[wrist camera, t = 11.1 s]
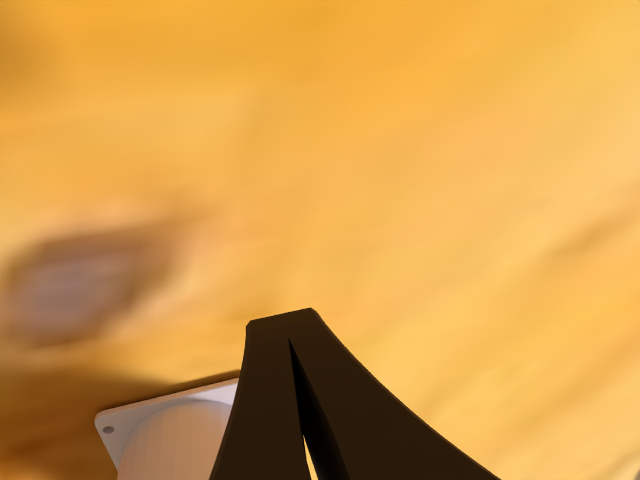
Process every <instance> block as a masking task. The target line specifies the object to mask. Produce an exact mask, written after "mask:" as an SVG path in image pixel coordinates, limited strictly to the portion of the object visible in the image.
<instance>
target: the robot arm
mask: <svg viewBox="0 0 640 480" xmlns="http://www.w3.org/2000/svg"><path fill="white" fill-rule="evenodd" d="M94 425H95V427H96V429H97V431H98V433H99V435H100V437H101V439H102V441H103V443H104V445H105V447H106V449H107V451H108V453H109V455H110V457H111V459H112V461H113V463H114V465H115V467H116V469H117V471H118V476H117V480H311V476H310V472H309V468H308V464H307V459H306V452H305V445H304V438H305V441H306V444H307V447H308V450H309V453H310V456H311V459H312V462H313V465H314V468H315V471H316V474H317V477H318V480H501V479H499V478H498V477H497V476H495V475H494V474H492V473H491V472H490V471H488V470H487V469H486V468H484V467H483V466H481V465H480V464H479V463H477V462H476V461H474V460H473V459H472V458H470V457H469V456H468V455H466V454H465V453H463V452H462V451H461V450H460V449H458V448H457V447H456V446H454V445H453V444H452V443H450V442H449V441H448V440H447V439H445V438H444V437H443V436H441V435H440V434H439V433H438V432H436V431H435V430H434V429H433V428H431V427H430V426H429V425H428V424H426V423H425V422H424V421H423V420H422V419H421V418H419V417H418V416H417V415H416V414H415V413H413V412H412V411H411V410H410V409H409V408H408V407H407V406H405V405H404V404H403V403H402V402H401V401H400V400H399V399H398V398H396V397H395V396H394V395H393V394H392V393H391V392H390V391H389V390H388V389H387V388H386V387H385V386H383V385H382V384H381V383H380V382H379V381H378V380H377V379H376V378H375V377H374V376H373V375H372V374H371V373H370V372H369V371H368V370H367V369H366V368H365V367H364V366H363V365H362V364H361V363H360V362H359V361H358V360H357V359H356V358H355V357H354V356H353V355H352V354H351V352H350V351H349V350H348V349H347V348H346V347H345V346H344V345H343V344H342V343H341V341H340V340H339V339H338V338H337V337H336V336H335V335H334V333H333V332H332V331H331V330H330V329H329V327H328V326H327V325H326V324H325V322H324V321H323V320H322V319H321V317H320V316H319V314H318V313H317V312H316V311H315V310H314V309H312V308H306V309H301V310H297V311H292V312H288V313H283V314H278V315H274V316H269V317H265V318H260V319H255V320H251V321H250V322H249V323H248V324H247V326H246V340H245V349H244V356H243V362H242V367H241V372H240V377H239V378H235V379H231V380H227V381H223V382H219V383H215V384H211V385H207V386H203V387H198V388H194V389H190V390H186V391H182V392H178V393H174V394H170V395H166V396H161V397H157V398H153V399H149V400H145V401H141V402H137V403H133V404H128V405H124V406H120V407H116V408H112V409H108V410H104V411H101V412H99V413H98V414H97V415H96V417H95V421H94ZM107 426H111V427H107ZM303 435H304V438H303Z"/></svg>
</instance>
